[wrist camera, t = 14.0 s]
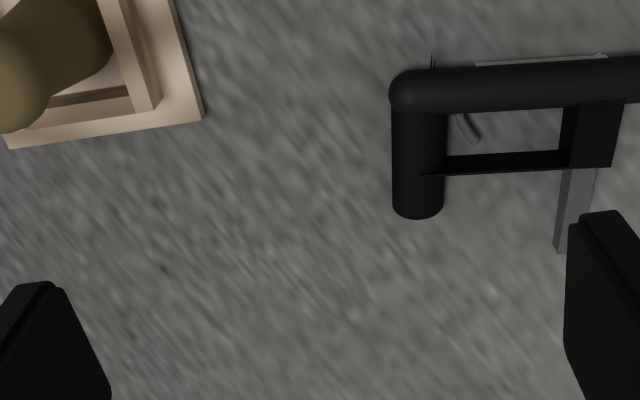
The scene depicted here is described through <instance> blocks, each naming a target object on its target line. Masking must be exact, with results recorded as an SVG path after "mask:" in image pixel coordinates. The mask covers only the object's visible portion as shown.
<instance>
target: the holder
mask: <svg viewBox="0 0 640 400" xmlns="http://www.w3.org/2000/svg"><path fill="white" fill-rule="evenodd" d="M19 1H20V0H0V19H1V18H2V17H3V16H5V15H6V14H7V13H8V12H9V11H10V10H11V9H12V8H13V7H14V6H15V5H16V4H17V3H18V2H19ZM96 1H97V2H98V5H99V8H100V11H101V14H102V17H103V20H104V23H105V26H106V28H107V31H108V34H109V37H110V40H111V43H112V46H113V54H112V55H111V57H110V59H109V61H108V63H107V65H106V66H104V67H103V68H102V69H101V70H100V71H99V72H97V73H96V74H94V75H92V76H90V77H88V78H86V79H84V80H82V81H80V82H79V83H77V84H75V85H73V86H71V87H69V88H67V89H65V90H63V91H61V92H59V93H57V94H55V95H53V96H51V97H50V100H49V103H48V105H47V107H46V109H45V111H44V113H43V114H42V115H41V116H40V117H39V118H38V119H37V120H36V121H35V122H34V123H32V124H31V125H30V126H29V127H27V128H24V129H21V130H18V131H15V132H13V133H10V134H2V135H3V137H4V139H5V141H6V143H7V145H8V147H9V149H16V148H23V147H30V146H36V145H43V144H49V143H56V142H63V141H69V140H76V139H83V138H89V137H96V136H102V135H109V134H116V133H122V132H129V131H136V130H142V129H149V128H155V127H162V126H169V125H175V124H182V123H189V122H195V121H202V119H203V117H204V115H205V111H204V107H203V104H202V100H201V97H200V93H199V90H198V86H197V82H196V79H195V75H194V72H193V68H192V65H191V61H190V58H189V54H188V51H187V47H186V44H185V40H184V37H183V33H182V30H181V26H180V22H179V19H178V15H177V12H176V8H175V5H174V1H173V0H96Z"/></svg>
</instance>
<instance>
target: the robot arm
mask: <svg viewBox="0 0 640 400" xmlns="http://www.w3.org/2000/svg"><path fill="white" fill-rule="evenodd" d="M563 342H564V349H565V353H566V356H567V359H568V361H569V363H570V365H571V368H572V370H573V372H574V374H575V377H576V379H577V381H578V383H579V386H580V388H581V390H582V392H583V395H584V397H585V399H586V400H640V239H639V237H638V236H637V235H636V234H635V232H634V231H633V230H632V228H631V227H630V226H629V224H628V223H627V222H626V221H625V219H624V218H623V217H622V215H621V214H620V213H619V212H618V211H617V210H608V211H600V212H592V213H584V214H581V215H580V216H579V219H578V223H571V224H570V225H569V227H568V237H567V260H566V283H565V306H564V328H563ZM111 397H112V392H111V386H110V384H109V382H108V379H107V377H106V375H105V373H104V371H103V369H102V367H101V365H100V363H99V361H98V359H97V357H96V355H95V353H94V351H93V349H92V346H91V344H90V342H89V340H88V338H87V336H86V334H85V332H84V330H83V328H82V326H81V324H80V322H79V320H78V318H77V316H76V313H75V311H74V309H73V307H72V305H71V303H70V301H69V299H68V297H67V295H66V293H65V291H64V290H63V289H62V288H61V287H56V286H55V284H53V283H52V282H51V281H41V282H33V283H25V284H19V285H17V286H16V287H15V288H14V289H13V290H12V291H11V292H10V294H9V295H8V297H7V298H6V299H5V301H4V302H3V303H2V305H1V306H0V400H111Z"/></svg>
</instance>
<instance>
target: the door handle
mask: <svg viewBox="0 0 640 400" xmlns="http://www.w3.org/2000/svg"><path fill="white" fill-rule="evenodd" d="M388 97H389V101H390V104H391V134H392V206H393V209H394V211H395V212H396V213H397V214H398V215H400V216H401V217H404V218H407V219H411V220H422V219H427V218H430V217H433V216H435V215H436V214H438V213H439V212H440V211H441V209H442V208H443V205H444V183H445V176H456V175H475V174H493V173H511V172H530V171H548V170H563V174H562V181H561V188H560V195H559V202H558V209H557V216H556V223H555V230H554V237H553V246H554V248H555V250H556V252H557V254H567V237H568V227H569V225H570V224H571V223H578V219H579V216H580V215H581V214H584V213H588V211H589V206H590V201H591V196H592V191H593V186H594V181H595V177H596V172H597V168H606V167H611V164H612V160H613V155H614V151H615V146H616V142H617V137H618V133H619V128H620V124H621V119H622V115H623V110H624V105H625V104H630V103H640V56H626V57H610V58H608V57H607V56H606V55H605V54H601V53H596V54H595V55H587V56H572V57H556V58H541V59H526V60H511V61H495V62H480V63H475V65H474V66H472V67H457V68H442V69H435V59H434V69H432V54H431V66H430V69H426V70H411V71H405V72H403V73H401V74H399V75H398V76H396V77H395V78H394V80H393V81H392V83H391V84H390V87H389V92H388ZM548 108H564V109H563V117H562V124H561V131H560V139H559V146H558V150H548V151H530V152H512V153H494V154H477V155H459V156H446V138H447V115H449V114H455V116H456V120H457V123H458V125H459V127H460V129H461V131H462V133H463V134H464V136H465V137H466V138H467V140H468V141H469V142H470V143H471V144H472V145H476V144H477V143H478V142H479V141H480V138H479V137H478V136H477V135H476V134H475V133H474V131H473V130H472V129H471V127H470V126H469V124H468V122H467V120H466V118H465V116H464V114H465V113H482V112H498V111H515V110H531V109H548Z"/></svg>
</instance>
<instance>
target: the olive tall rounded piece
mask: <svg viewBox="0 0 640 400" xmlns="http://www.w3.org/2000/svg"><path fill="white" fill-rule="evenodd" d="M112 54H113V46H112V43H111V40H110V37H109V34H108V31H107V28H106V26H105V23H104V20H103V17H102V14H101V11H100V8H99V5H98V2H97V1H96V0H20V1H19V2H18V3H17V4H16V5H15V6H14V7H13V8H12V9H11V10H10V11H9V12H8V13H7V14H6V15H5V16H3V17H2V18H1V19H0V134H10V133H13V132H15V131H18V130H21V129H24V128H27V127H29V126H30V125H31V124H32V123H34V122H35V121H36V120H37V119H38V118H39V117H40V116H41V115H42V114H43V113H44V111H45V109H46V107H47V105H48V103H49V100H50V97H51V96H53V95H55V94H57V93H59V92H61V91H63V90H65V89H67V88H69V87H71V86H73V85H75V84H77V83H79V82H80V81H82V80H84V79H86V78H88V77H90V76H92V75H94V74H96V73H97V72H99V71H100V70H101V69H102V68H103V67H104V66H106V65H107V63H108V61H109V59H110V57H111V55H112Z"/></svg>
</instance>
